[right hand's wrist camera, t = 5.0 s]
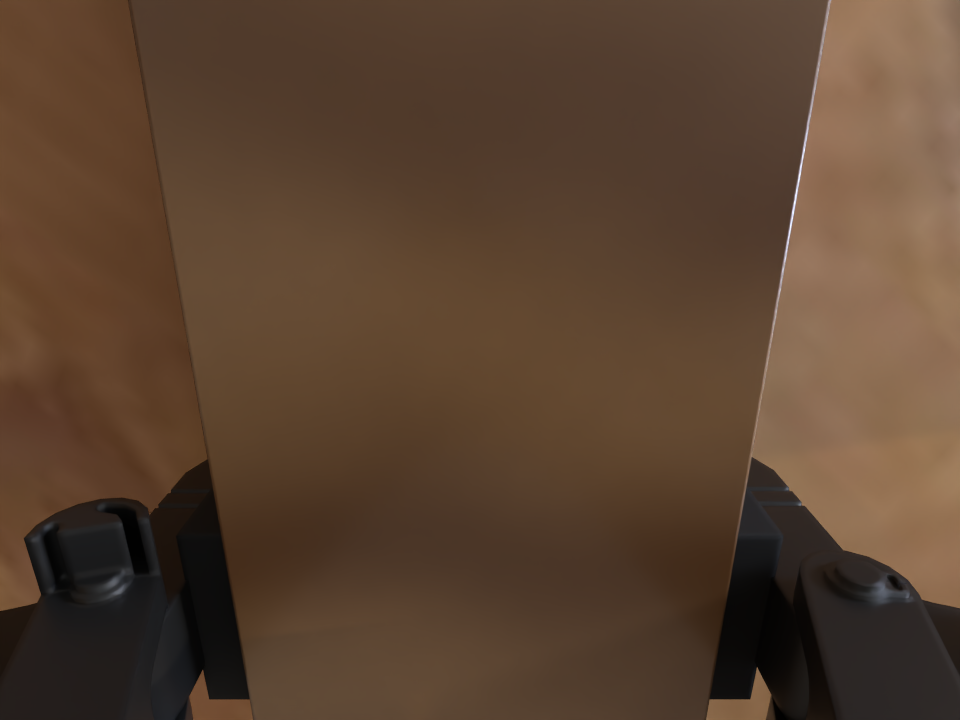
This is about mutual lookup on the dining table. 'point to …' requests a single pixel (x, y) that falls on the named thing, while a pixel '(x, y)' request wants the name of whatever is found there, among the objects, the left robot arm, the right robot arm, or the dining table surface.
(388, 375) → the post
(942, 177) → the dining table surface
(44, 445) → the dining table surface
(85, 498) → the dining table surface
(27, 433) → the dining table surface
